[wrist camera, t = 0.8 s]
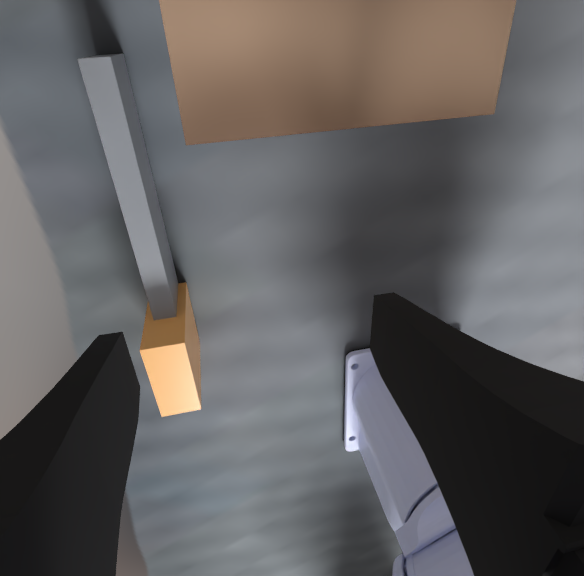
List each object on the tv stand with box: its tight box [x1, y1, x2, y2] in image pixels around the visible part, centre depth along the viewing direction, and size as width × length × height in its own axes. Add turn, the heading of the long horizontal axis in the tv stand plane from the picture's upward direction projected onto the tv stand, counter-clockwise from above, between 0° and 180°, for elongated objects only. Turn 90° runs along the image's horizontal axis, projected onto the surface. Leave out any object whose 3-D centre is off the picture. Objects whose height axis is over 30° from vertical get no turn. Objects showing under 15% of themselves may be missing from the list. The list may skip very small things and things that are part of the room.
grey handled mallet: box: [78, 53, 201, 417], centre depth 17 cm, size 14×2×5 cm, turn 3°
